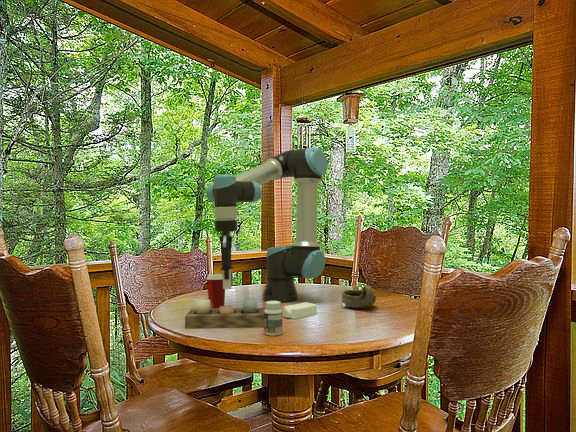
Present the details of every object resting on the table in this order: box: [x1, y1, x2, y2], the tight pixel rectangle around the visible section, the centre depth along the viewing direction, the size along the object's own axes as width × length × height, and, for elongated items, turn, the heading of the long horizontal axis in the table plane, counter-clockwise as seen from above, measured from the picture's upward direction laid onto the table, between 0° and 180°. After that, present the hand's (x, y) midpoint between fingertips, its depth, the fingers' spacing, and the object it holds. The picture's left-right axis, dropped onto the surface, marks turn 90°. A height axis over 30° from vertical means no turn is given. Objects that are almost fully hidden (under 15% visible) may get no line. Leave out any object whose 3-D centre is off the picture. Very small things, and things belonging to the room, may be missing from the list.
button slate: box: [242, 298, 258, 313], centre depth 157 cm, size 5×5×4 cm
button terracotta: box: [220, 305, 235, 314], centre depth 157 cm, size 5×5×4 cm
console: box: [184, 307, 266, 329], centre depth 157 cm, size 26×12×4 cm, turn 92°
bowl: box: [341, 285, 377, 309], centre depth 179 cm, size 14×18×10 cm
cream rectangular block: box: [282, 301, 318, 320], centre depth 167 cm, size 6×13×4 cm, turn 135°
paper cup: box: [205, 273, 226, 308], centre depth 176 cm, size 8×8×14 cm
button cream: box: [195, 298, 210, 314], centre depth 156 cm, size 5×5×4 cm
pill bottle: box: [263, 301, 283, 337], centre depth 143 cm, size 6×6×10 cm
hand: (227, 288), depth 157 cm, fingers closed
